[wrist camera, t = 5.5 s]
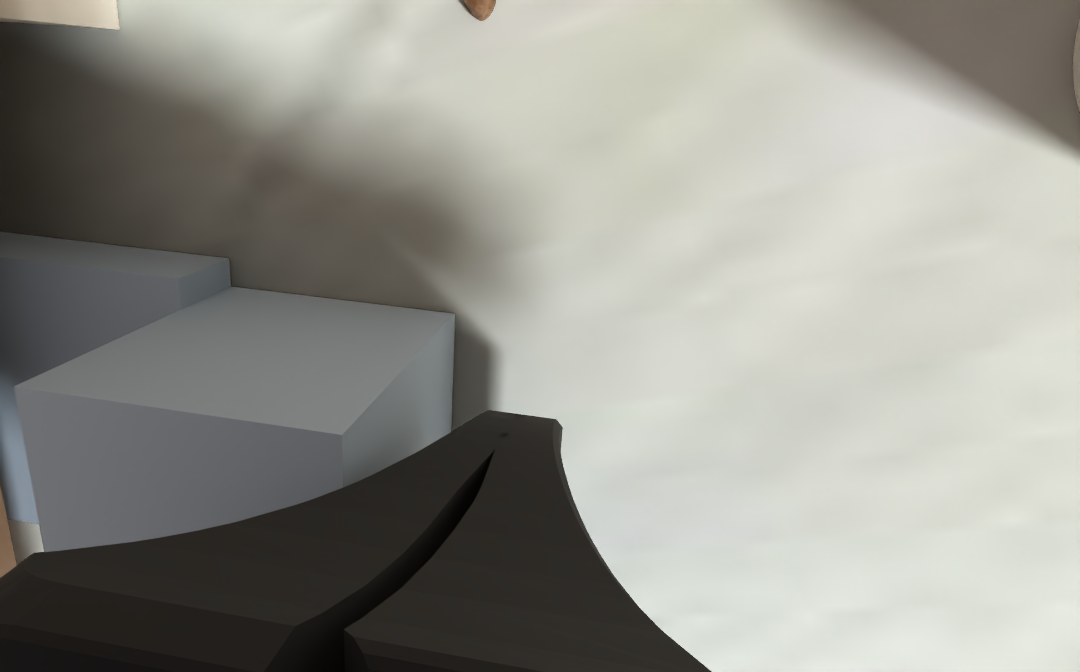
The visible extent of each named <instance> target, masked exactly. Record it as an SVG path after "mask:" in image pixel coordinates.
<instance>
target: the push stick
mask: <svg viewBox="0 0 1080 672" xmlns="http://www.w3.org/2000/svg"><path fill="white" fill-rule="evenodd" d="M454 335H455V314H454V313H445V312H437V311H429V310H421V309H412V308H404V307H396V306H388V305H379V304H371V303H363V302H355V301H346V300H338V299H330V298H322V297H313V296H305V295H297V294H289V293H281V292H272V291H264V290H256V289H248V288H239V287H231V277H230V263H229V258H222V257H213V256H205V255H196V254H188V253H179V252H170V251H162V250H153V249H144V248H136V247H127V246H119V245H110V244H101V243H93V242H84V241H76V240H67V239H58V238H50V237H41V236H32V235H24V234H15V233H7V232H0V487H1V491H2V496H3V501H4V506H5V511H6V516H7V519H10V520H15V521H21V522H27V523H33V524H38V525H39V526H40V531H41V537H42V542H43V548H44V552H51V551H61V550H69V549H77V548H86V547H94V546H102V545H111V544H119V543H127V542H135V541H141V540H148V539H154V538H160V537H165V536H171V535H176V534H182V533H187V532H192V531H198V530H202V529H207V528H211V527H216V526H220V525H225V524H229V523H233V522H237V521H241V520H245V519H248V518H252V517H255V516H258V515H262V514H265V513H269V512H272V511H276V510H279V509H283V508H286V507H290V506H293V505H296V504H300V503H303V502H306V501H309V500H312V499H314V498H317V497H320V496H322V495H325V494H328V493H330V492H333V491H335V490H338V489H341V488H343V487H346V486H348V485H350V484H353V483H355V482H357V481H360V480H362V479H364V478H366V477H369V476H371V475H373V474H375V473H377V472H379V471H381V470H383V469H385V468H387V467H389V466H390V465H392V464H394V463H396V462H398V461H400V460H402V459H404V458H406V457H408V456H410V455H412V454H414V453H416V452H418V451H420V450H421V449H423V448H425V447H426V446H428V445H430V444H432V443H433V442H435V441H437V440H438V439H440V438H442V437H444V436H445V435H447V434H449V433H450V432H451V423H452V394H453V364H454Z"/></svg>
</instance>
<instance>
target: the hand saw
mask: <svg viewBox="0 0 1080 672" xmlns="http://www.w3.org/2000/svg"><path fill="white" fill-rule="evenodd" d="M464 2H465V4H466V5H467V7H468V8H469V10H470V12H471V13H472V14H473V16H474V17H475V18H477V19H478V20H480V21H483V20H485V19H486V18H487V17H489V16H490V14H491V13H492V11H493V9H494V6H495V3H496V0H464Z"/></svg>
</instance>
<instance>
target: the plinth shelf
mask: <svg viewBox="0 0 1080 672" xmlns="http://www.w3.org/2000/svg"><path fill="white" fill-rule="evenodd" d="M0 21H3V22H17V23H31V24H46V25H60V26H74V27H88V28H103V29H117V30H120V28H119V19H118V10H117V2H116V0H0ZM16 566H17V565H16V560H15V555H14V550H13V545H12V540H11V535H10V530H9V526H8V521H7V516H6V511H5V506H4V501H3V496H2V491H1V487H0V578H1V577H2V576H3V575H5V574H6V573H8V572H9V571H10V570H12V569H13V568H14V567H16Z"/></svg>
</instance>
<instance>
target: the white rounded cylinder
mask: <svg viewBox="0 0 1080 672" xmlns="http://www.w3.org/2000/svg"><path fill="white" fill-rule="evenodd" d="M1073 78H1074V90H1075V95H1076V100H1077V105H1078V109H1079V112H1080V19H1079V24H1078V28H1077V32H1076V37H1075V45H1074V56H1073Z"/></svg>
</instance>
